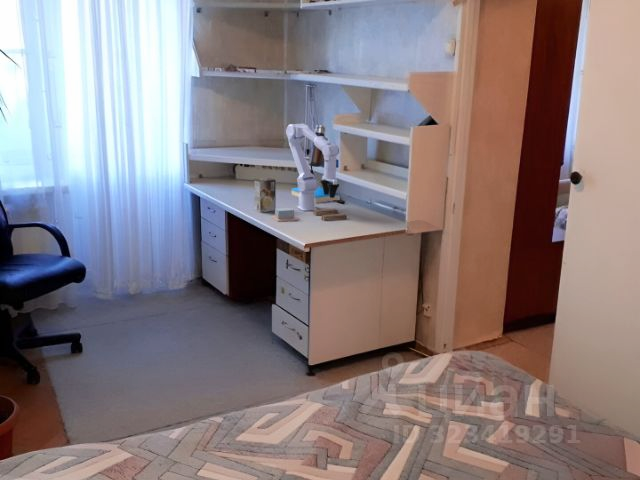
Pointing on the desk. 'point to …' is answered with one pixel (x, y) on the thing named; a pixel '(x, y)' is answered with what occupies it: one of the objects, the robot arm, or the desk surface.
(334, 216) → the pair of brown bars
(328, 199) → the book
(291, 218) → the tile
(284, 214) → the block
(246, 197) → the desk surface
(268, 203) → the coffee box
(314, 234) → the desk surface
